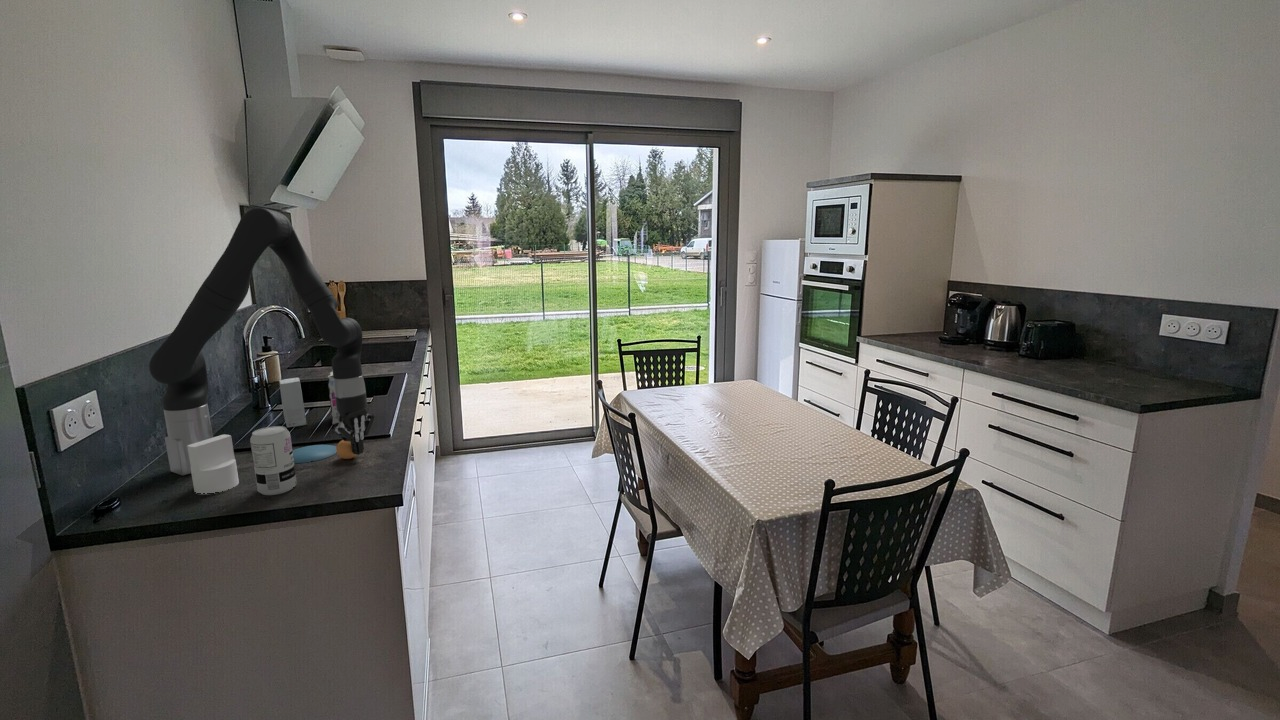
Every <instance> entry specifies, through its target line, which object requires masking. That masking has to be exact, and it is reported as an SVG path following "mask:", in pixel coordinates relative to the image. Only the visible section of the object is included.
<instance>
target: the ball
mask: <svg viewBox="0 0 1280 720" xmlns="http://www.w3.org/2000/svg"><path fill="white" fill-rule="evenodd" d="M336 447H337V448H336V451H337V453H336V454H337V455H338V456H339V457H340V458H341V459H345V460H350V459H352V458H353V459H354V457H355V456H357V454H354V453H353V452H352V448H351V442H350V441H344V440H343V439H341V440H340V441H339V442H338V443H337V445H336Z"/></svg>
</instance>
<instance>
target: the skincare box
mask: <svg viewBox="0 0 1280 720" xmlns="http://www.w3.org/2000/svg"><path fill="white" fill-rule="evenodd" d="M278 382H279V388H280V389H279V390H280V392H279V393H280V398H281V405H282V410H283V411H282V413H283V416H284V417H283V419H284V422H285V425H286V426H285V427H286V428H292V427H293V428H294V427H301V426H306V425H308V423H307V418H306V413H305V406H304V399H303V392H302V387H301V386H302V385H301V381H300V378H299V377H291V378H285V379H279V381H278Z"/></svg>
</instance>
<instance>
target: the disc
mask: <svg viewBox="0 0 1280 720" xmlns="http://www.w3.org/2000/svg"><path fill="white" fill-rule="evenodd" d="M336 448H337V445H336V446H335V445H332V444H313V445H307V446H302V447H299V448H295V449H292V451H293V459H294V464H303V463H306V464H307V463H312V462H311V461H313V462H317V461H321V460H324V459H327V458H330V457H332V456H334V455H335V454H337V451H336Z"/></svg>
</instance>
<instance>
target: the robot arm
mask: <svg viewBox="0 0 1280 720" xmlns="http://www.w3.org/2000/svg"><path fill="white" fill-rule="evenodd" d="M301 243H302V242H301V241H300V239H299V237H298V235H297V232H296V231H295V228H294V227H293V225H292V223H291V221H290V220H289V218H288V217H287V216H286V215H285V214H283V213H282V212H279V211H276V210H272V209H269V208H264V207H254V208H251V209H249V210H248V211H246V212H244V214H243V215H242V217H241V218H240V220H239V222H238V224H237V225H236V228H235V230H234V232H233V234H232V236H231V238H230V240H229V242H228V244H227V246H226V248H225V249H224V251H223V253H222V255H221V256H220V258H219V259H218V260H217V261H216V263H215V265H214V266H213V268H212V269H211V271H210V273H209V274H208V275H207V277H206V278H205V279H204V281H203V282H202V283H201V286H200V287H199V288H198V290H197V292H196V294H195V295H194V297H193V299H192V300H191V302H190V303H189V304H188V307H187V308H186V309H185V311H184V313H183V315H182V316H181V318H180V320H179V321H178V323H177V325H176V327H175V328H174V329H173V331H172V332H171V334H169V335H168V336H167V338H166V339H165V341H164V342H163V343H162V344H161V345H160V346H159V348H157V350H156V351H155V352H154V354H153V355H152V356H151V358H150V361H149V365H148V366H149V367H148V369H149V373H150V375H151V377H152V378H153V379H154V380H155V381H156V382H159V383H161V384H166V385H167V387H166V392H165V394H164V395H163V397H162V399H161V402H162V408H163V413H164V415H163V416H164V420H165V426H166V432H167V436H165V437H164V441H165V447H166V452H167V459H168V464H169V469H170V472H172V473H174V474H177V475H180V476H185V475H190V474H191V465H190V459H189V453H188V447H187V445H190V444H194V443H197V442H200V441H203V440H207V439H210V438H213V437H214V435H213V429H212V423H211V416H210V410H209V405H208V393H209V381H208V371H207V364H206V359H205V356H204V354H203V353H202V350H203V348H204V346H205V345H206V344H207V342H208V341H209V340H210V339H211V338H212V337H213V336H215V334H216V333H218V331H220V330H221V329H222V328H223V327H224V326H225V325H226V324H227V323H228V322H229V320H231V319H232V318H233V316H234V315H235V313H236V312H238V311H237V310H239V307H240V306H241V304H243V302H244V301H245V299H246V297H247V295H248V292H249V289H250V284H251V277H252V272H253V269H254V267H255V265H256V263H257V261H258V260H259V259H260V257H261V255H262V254H263V253H264V252H265V251H266V249H267V248H268V247H269V248H270V249H271V250H272V251H273V252H274V253H275V254H276V256H277V257H278V258H279V260H280V261H281V262H282V264H283V265H284V267H285V268H286V270H287V273H288V275H289V278H290V281H291V284H292V286H293V288H294V290H295V292H296V294H297V295H298V297H299V299H300V300H301V301H302V302H303V303H302V304H304V306H305V307H306V308H307V311H309V313H311V317H312V320H313V322H314V325H315V327H316V329H317V332H318V333H319V335H320V337H321V339H322V341H324V342H325V344H327V345H328V346H330V347H333V348H336V349H337V350H336V354H334V356H333V357H332V359H331V369H332V370H331V371H333V378H334V393H335V401H336V408H337V411H338V412H339V414H340V417H339V422H340V423H339V424H337V426H334V427H333V428H332V431H333V432H334V433H335V434H336V435H337V436H338V437H339V438H340V439H341V440H344V441H350V442H351V448H352V452H353V453H354V454H356V456H357V455H358V456H359V455H361V454H363V453H364V449H365V447H364V441H363V440H364V438H365V437H366V436H369V433H370V430H371V427H372V425H373V422H374V419H375V415H374V414H370V413H368V410H367V408H368V399H367V391H366V383H365V379H364V375H363V369H362V363H361V355H362V347H363V330H362V328H361V325H360V323H358V321H357V320H356V319H354V318H352V317H343V318H340V316H339V314H338V311H336V310H337V309H338V307H339V303H338V302H339V301H338V300H337V299H336V297H335V295H334V293H332V291H331V289H330V288H329V287H328V285H327V284H326V282H324V280H323V278H322V277H321V276H320V274H319V272H318V271H317V269H316V267H315V266H314V265H313V263H312V262H311V260H310V259H309V256H308V255H307V253H306V251H305V249H304V247H303V245H302V244H301ZM191 475H192V474H191Z"/></svg>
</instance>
